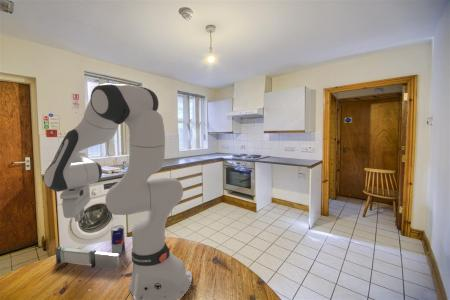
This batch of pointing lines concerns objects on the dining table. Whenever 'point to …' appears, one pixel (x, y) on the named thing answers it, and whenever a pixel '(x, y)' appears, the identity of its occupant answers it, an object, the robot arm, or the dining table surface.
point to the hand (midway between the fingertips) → (79, 219)
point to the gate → (75, 256)
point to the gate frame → (98, 259)
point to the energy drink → (118, 240)
